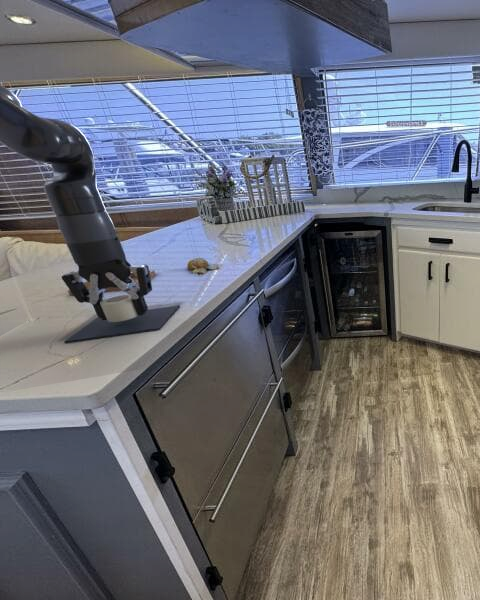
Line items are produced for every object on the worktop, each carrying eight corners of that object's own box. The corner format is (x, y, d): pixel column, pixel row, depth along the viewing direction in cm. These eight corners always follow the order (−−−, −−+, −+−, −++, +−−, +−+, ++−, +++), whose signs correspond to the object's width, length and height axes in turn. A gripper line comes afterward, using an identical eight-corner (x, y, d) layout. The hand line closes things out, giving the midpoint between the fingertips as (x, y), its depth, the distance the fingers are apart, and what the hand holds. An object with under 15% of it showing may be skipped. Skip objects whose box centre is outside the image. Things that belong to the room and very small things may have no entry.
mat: (64, 343, 61) (63, 341, 61) (100, 316, 72) (99, 315, 72) (159, 329, 65) (158, 328, 65) (180, 306, 76) (179, 305, 75)
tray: (71, 298, 84) (67, 290, 83) (97, 283, 94) (94, 276, 94) (138, 290, 87) (135, 283, 86) (156, 276, 98) (154, 270, 97)
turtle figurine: (198, 275, 97) (195, 264, 96) (180, 273, 100) (177, 261, 99) (222, 267, 104) (219, 256, 103) (204, 265, 107) (201, 254, 106)
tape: (101, 324, 64) (93, 305, 63) (116, 312, 70) (109, 295, 68) (134, 319, 66) (127, 301, 64) (147, 308, 71) (140, 291, 69)
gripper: (30, 245, 56) (73, 329, 63) (125, 237, 59) (156, 318, 66) (59, 236, 63) (95, 314, 69) (143, 230, 66) (170, 304, 73)
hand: (125, 315), depth 68 cm, fingers closed on tape, 5 cm apart
